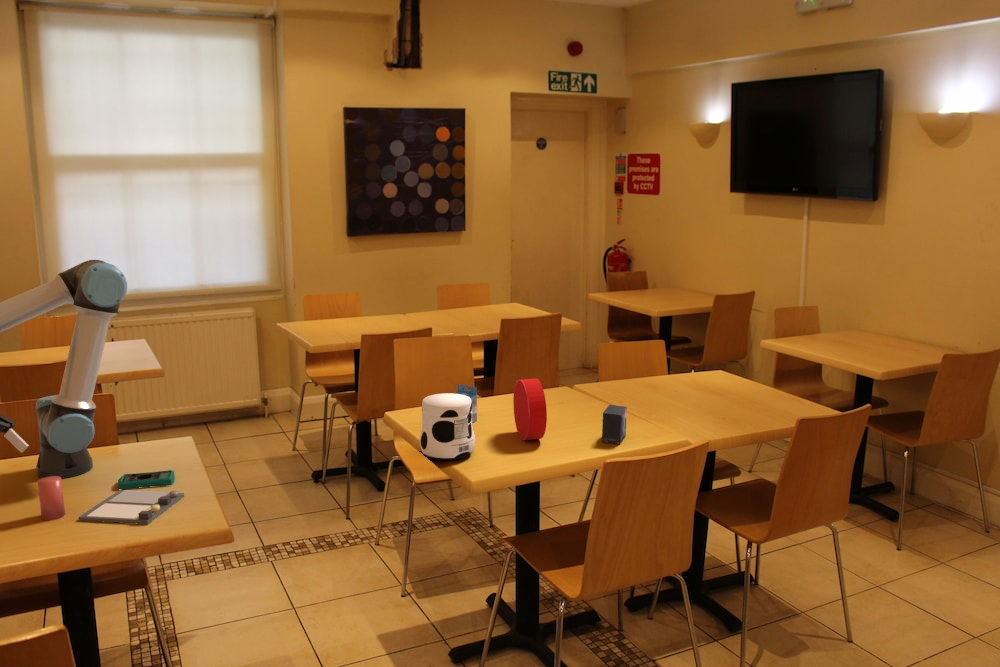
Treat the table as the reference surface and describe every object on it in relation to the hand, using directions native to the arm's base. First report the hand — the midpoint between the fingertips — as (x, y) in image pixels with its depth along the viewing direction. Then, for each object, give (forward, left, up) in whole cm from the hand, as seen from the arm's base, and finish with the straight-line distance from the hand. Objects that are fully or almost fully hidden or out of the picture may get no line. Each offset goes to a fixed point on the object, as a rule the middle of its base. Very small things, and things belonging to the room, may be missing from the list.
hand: (7, 457), depth 226 cm
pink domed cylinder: (0, +11, -16) cm, 19 cm away
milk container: (-60, +104, -16) cm, 121 cm away
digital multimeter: (-25, +23, -16) cm, 38 cm away
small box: (-82, +156, -16) cm, 177 cm away
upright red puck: (-80, +128, -16) cm, 152 cm away
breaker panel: (-8, +29, -16) cm, 34 cm away
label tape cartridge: (-97, +103, -16) cm, 142 cm away
